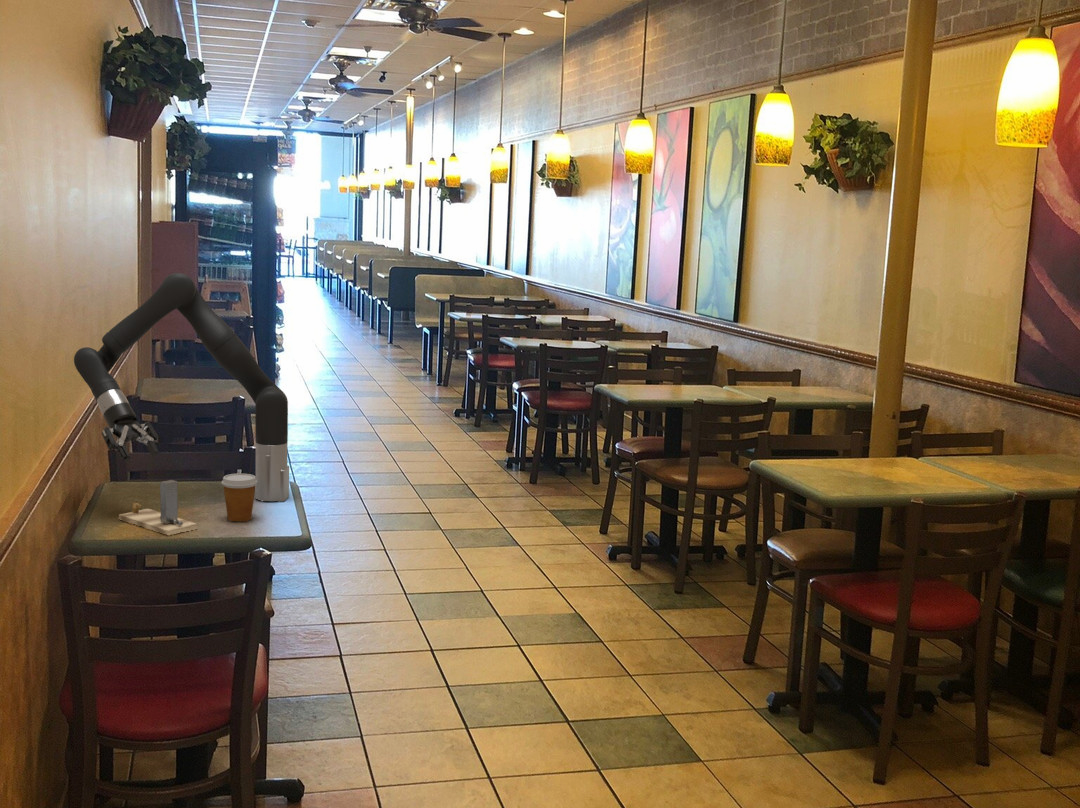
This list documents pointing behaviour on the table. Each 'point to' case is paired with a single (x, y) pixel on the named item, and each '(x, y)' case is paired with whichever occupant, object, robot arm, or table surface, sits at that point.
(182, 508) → the table surface
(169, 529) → the rail
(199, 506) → the table surface
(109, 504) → the table surface
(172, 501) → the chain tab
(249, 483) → the disposable coffee cup
